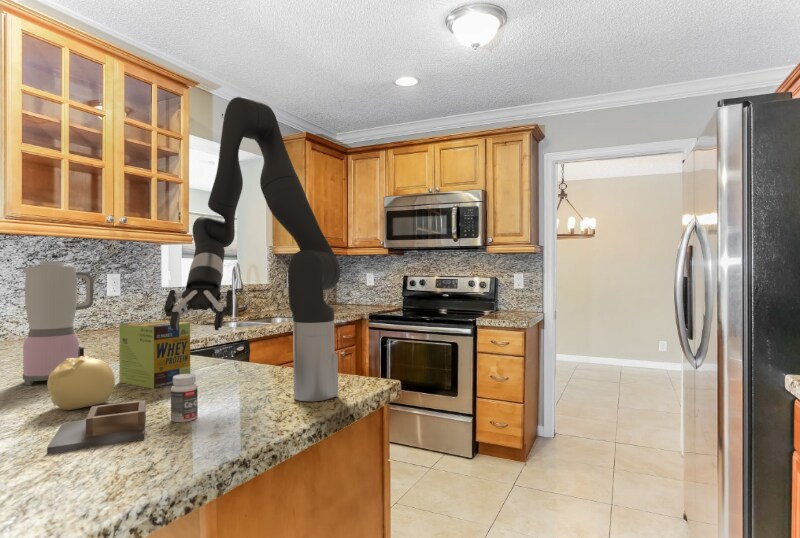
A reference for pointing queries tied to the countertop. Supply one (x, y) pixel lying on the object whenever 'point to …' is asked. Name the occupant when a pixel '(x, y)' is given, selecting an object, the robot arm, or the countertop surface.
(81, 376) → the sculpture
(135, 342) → the protein box
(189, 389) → the pill bottle
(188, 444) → the countertop surface
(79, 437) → the socket dock
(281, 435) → the countertop surface
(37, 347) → the blender
